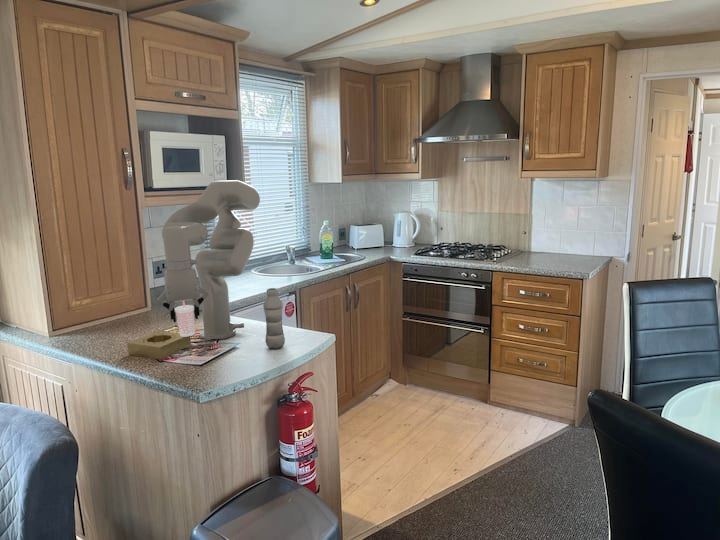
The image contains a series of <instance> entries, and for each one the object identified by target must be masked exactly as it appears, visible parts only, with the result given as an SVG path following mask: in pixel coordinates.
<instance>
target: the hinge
mask: <svg viewBox="0 0 720 540" xmlns="http://www.w3.org/2000/svg"><path fill="white" fill-rule="evenodd" d="M200 297H201V293H200V292H199V297H198V298H197V300H198V299H199V298H200ZM184 303H185V305H192V306H194V302H193V300H185V301H184ZM177 304H178V305H177V307H179V306H183V301H178V303H177ZM199 311H202V303H201V304H200V306H199Z"/></svg>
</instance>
